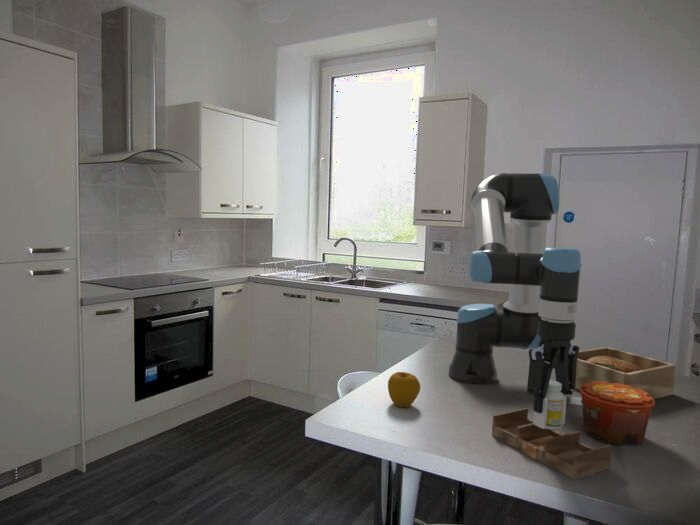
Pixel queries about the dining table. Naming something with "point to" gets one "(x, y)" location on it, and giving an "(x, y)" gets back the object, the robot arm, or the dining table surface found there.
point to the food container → (615, 412)
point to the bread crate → (650, 379)
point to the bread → (614, 364)
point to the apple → (403, 388)
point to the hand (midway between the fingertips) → (549, 423)
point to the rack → (550, 445)
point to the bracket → (576, 401)
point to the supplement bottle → (554, 405)
